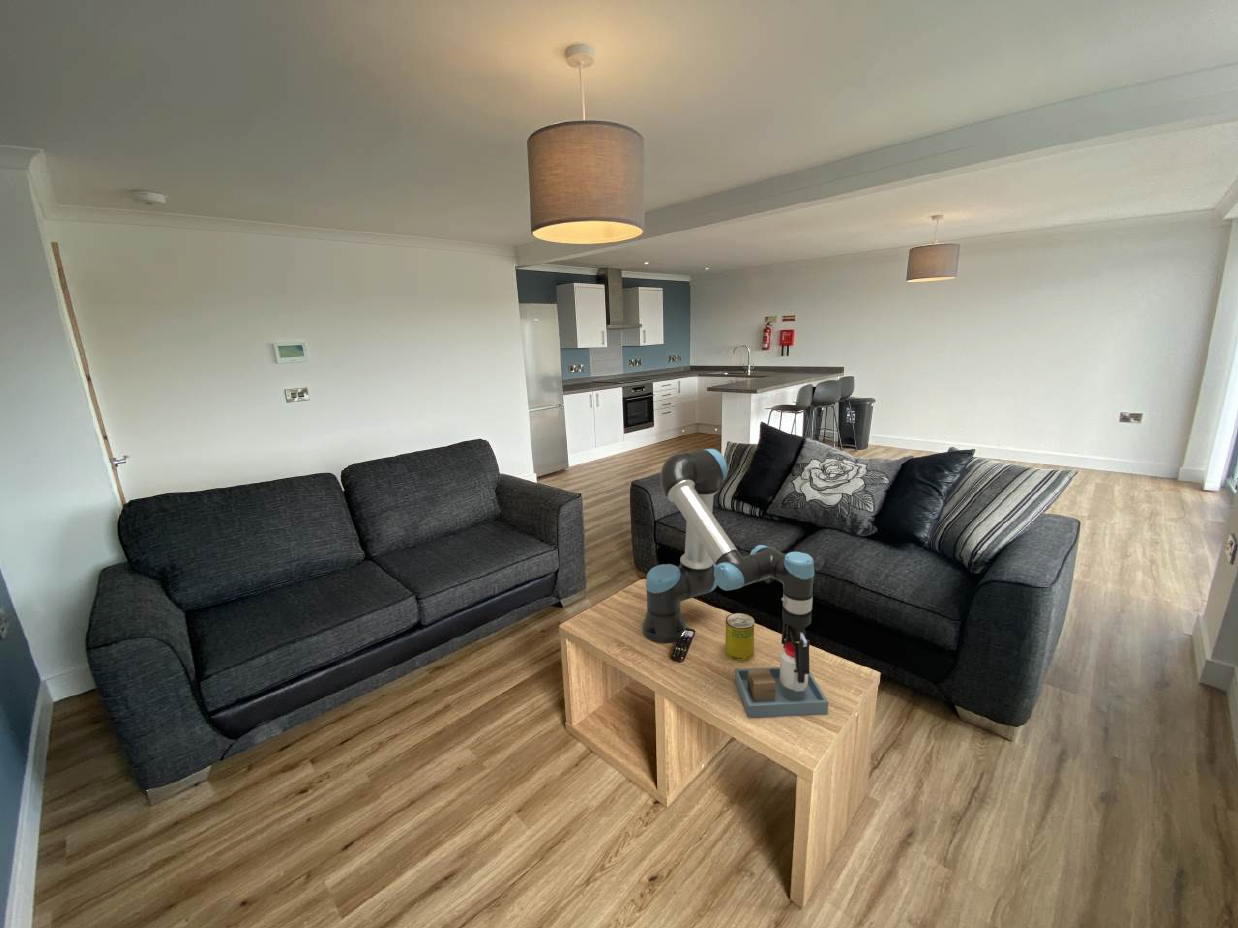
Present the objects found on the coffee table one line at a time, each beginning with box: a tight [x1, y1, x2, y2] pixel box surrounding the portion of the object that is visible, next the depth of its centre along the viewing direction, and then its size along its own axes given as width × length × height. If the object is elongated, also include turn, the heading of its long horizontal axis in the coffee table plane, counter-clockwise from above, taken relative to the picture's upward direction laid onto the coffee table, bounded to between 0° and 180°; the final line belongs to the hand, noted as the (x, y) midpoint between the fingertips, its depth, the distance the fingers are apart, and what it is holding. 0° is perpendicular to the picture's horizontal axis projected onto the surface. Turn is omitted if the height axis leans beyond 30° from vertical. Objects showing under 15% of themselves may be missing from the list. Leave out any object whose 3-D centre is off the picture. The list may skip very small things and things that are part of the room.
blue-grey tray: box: [734, 666, 829, 719], centre depth 146 cm, size 16×22×4 cm
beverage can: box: [724, 612, 755, 663], centre depth 165 cm, size 9×9×12 cm
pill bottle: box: [779, 642, 808, 690], centre depth 143 cm, size 8×8×11 cm
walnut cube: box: [748, 669, 776, 702], centre depth 145 cm, size 6×6×6 cm
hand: (793, 680), depth 145 cm, fingers closed on pill bottle, 8 cm apart
